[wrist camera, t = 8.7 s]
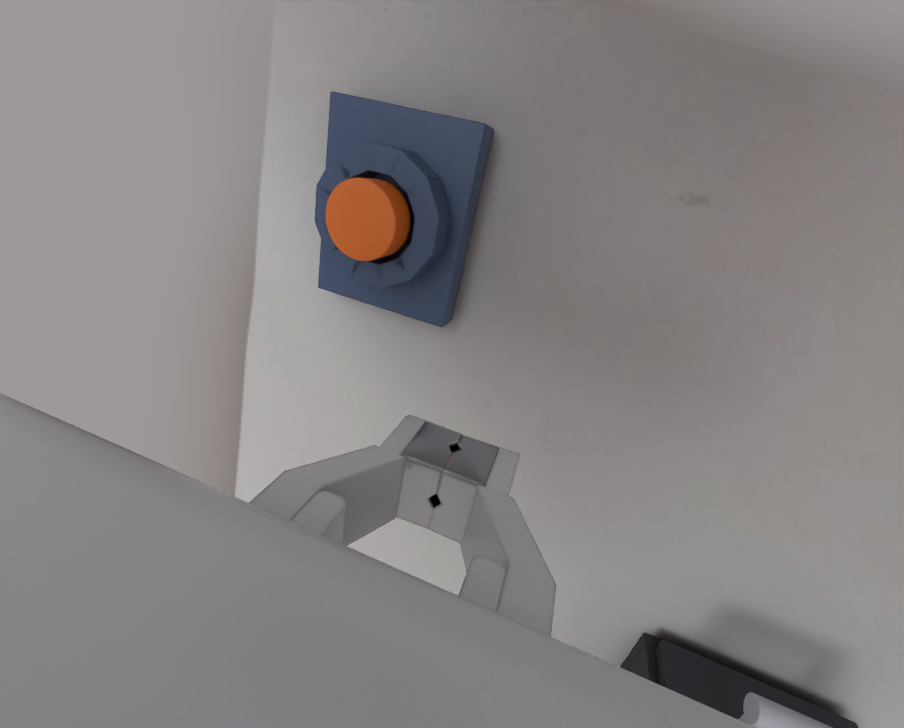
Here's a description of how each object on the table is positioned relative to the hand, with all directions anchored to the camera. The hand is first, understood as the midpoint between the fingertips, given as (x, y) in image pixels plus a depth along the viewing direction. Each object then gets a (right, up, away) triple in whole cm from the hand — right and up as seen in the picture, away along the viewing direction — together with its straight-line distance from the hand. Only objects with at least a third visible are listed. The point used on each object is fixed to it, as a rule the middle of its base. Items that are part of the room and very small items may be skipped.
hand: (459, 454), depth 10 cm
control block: (-3, +11, +12) cm, 17 cm away
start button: (-4, +9, +10) cm, 14 cm away
